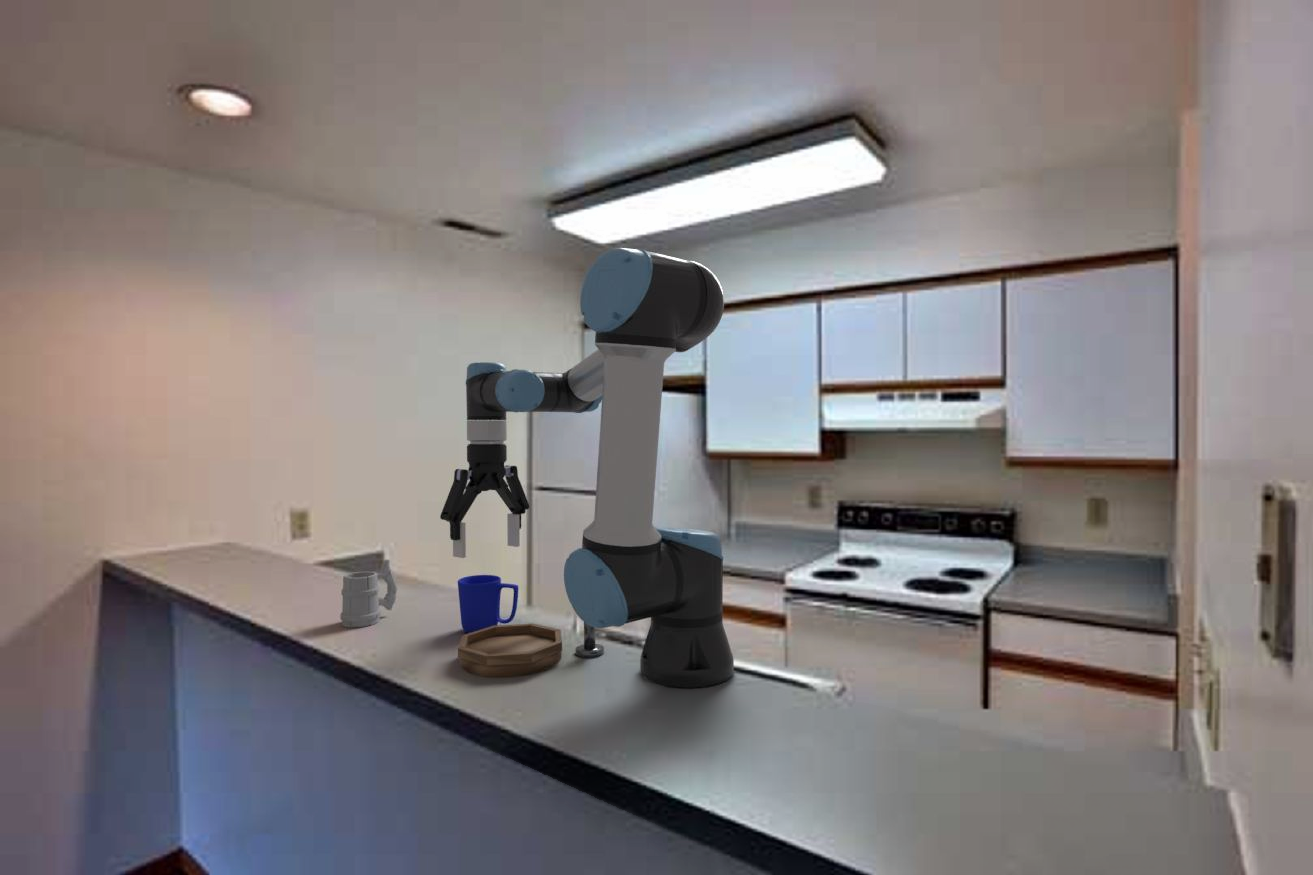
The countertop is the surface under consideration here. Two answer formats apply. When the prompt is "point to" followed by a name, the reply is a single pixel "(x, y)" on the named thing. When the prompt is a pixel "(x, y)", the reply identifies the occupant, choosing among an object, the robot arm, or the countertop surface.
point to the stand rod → (589, 644)
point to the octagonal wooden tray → (510, 650)
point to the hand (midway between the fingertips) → (487, 551)
